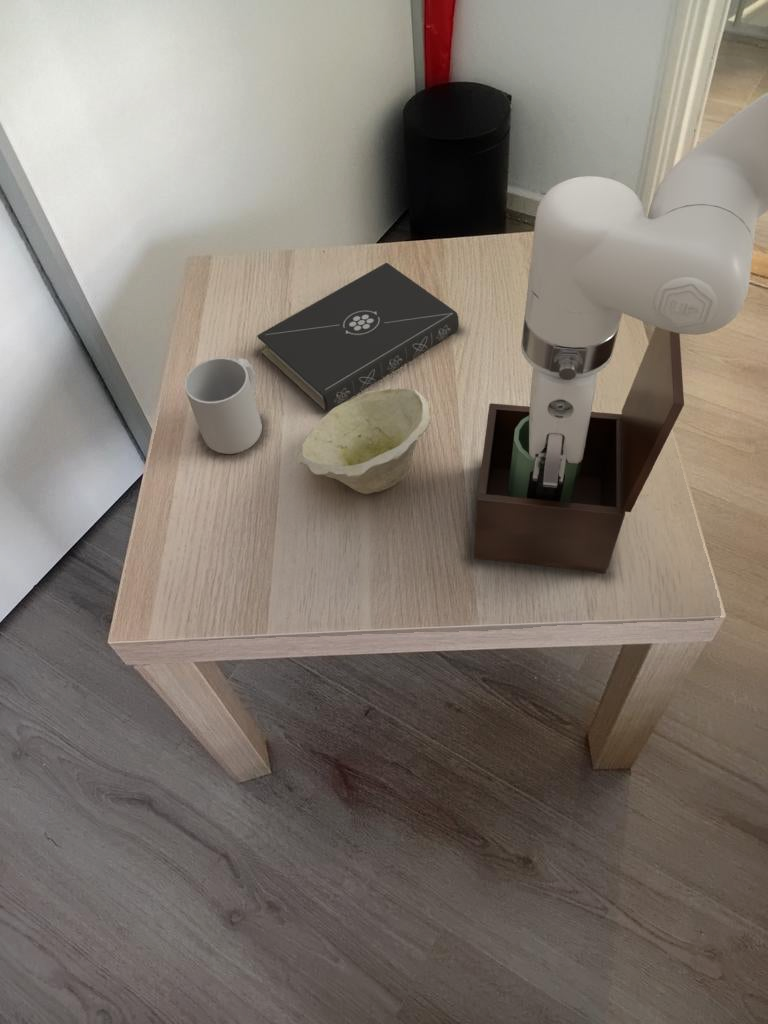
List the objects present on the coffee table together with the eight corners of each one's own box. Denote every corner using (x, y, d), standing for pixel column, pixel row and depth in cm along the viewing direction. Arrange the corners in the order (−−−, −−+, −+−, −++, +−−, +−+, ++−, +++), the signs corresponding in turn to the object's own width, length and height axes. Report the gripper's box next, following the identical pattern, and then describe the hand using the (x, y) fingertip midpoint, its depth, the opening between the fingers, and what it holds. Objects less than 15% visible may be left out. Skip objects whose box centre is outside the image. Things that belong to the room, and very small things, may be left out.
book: (327, 414, 95) (325, 397, 93) (260, 352, 102) (256, 335, 100) (459, 332, 102) (459, 314, 100) (387, 279, 110) (386, 261, 107)
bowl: (365, 405, 96) (358, 343, 88) (456, 459, 90) (458, 398, 82) (279, 481, 90) (263, 421, 82) (371, 544, 84) (363, 487, 76)
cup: (192, 446, 94) (171, 393, 86) (233, 389, 99) (217, 335, 92) (244, 462, 92) (227, 410, 84) (284, 404, 97) (271, 350, 90)
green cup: (574, 469, 82) (586, 414, 76) (572, 520, 79) (585, 467, 72) (510, 463, 83) (517, 408, 77) (505, 513, 80) (511, 460, 73)
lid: (673, 403, 59) (684, 404, 59) (667, 296, 67) (677, 297, 67) (621, 511, 71) (630, 512, 71) (621, 410, 78) (629, 411, 78)
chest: (473, 558, 82) (477, 499, 74) (485, 465, 89) (489, 402, 81) (606, 573, 80) (625, 514, 72) (607, 477, 87) (624, 414, 79)
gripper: (615, 416, 58) (580, 546, 73) (616, 269, 68) (585, 410, 83) (514, 407, 59) (499, 537, 74) (529, 264, 69) (513, 404, 84)
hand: (545, 469), depth 78 cm, fingers closed on green cup, 6 cm apart
